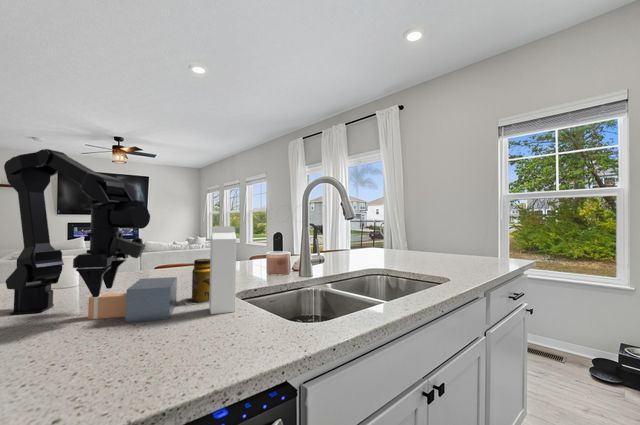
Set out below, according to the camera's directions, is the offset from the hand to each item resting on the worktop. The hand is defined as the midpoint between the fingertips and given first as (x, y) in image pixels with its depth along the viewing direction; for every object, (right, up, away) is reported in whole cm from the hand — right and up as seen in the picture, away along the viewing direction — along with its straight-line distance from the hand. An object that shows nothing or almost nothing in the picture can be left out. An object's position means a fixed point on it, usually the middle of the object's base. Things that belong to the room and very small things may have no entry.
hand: (103, 292), depth 74 cm
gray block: (+10, -6, +3) cm, 13 cm away
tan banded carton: (+4, -6, +1) cm, 7 cm away
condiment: (+17, -7, +15) cm, 24 cm away
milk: (+27, -6, +6) cm, 28 cm away
